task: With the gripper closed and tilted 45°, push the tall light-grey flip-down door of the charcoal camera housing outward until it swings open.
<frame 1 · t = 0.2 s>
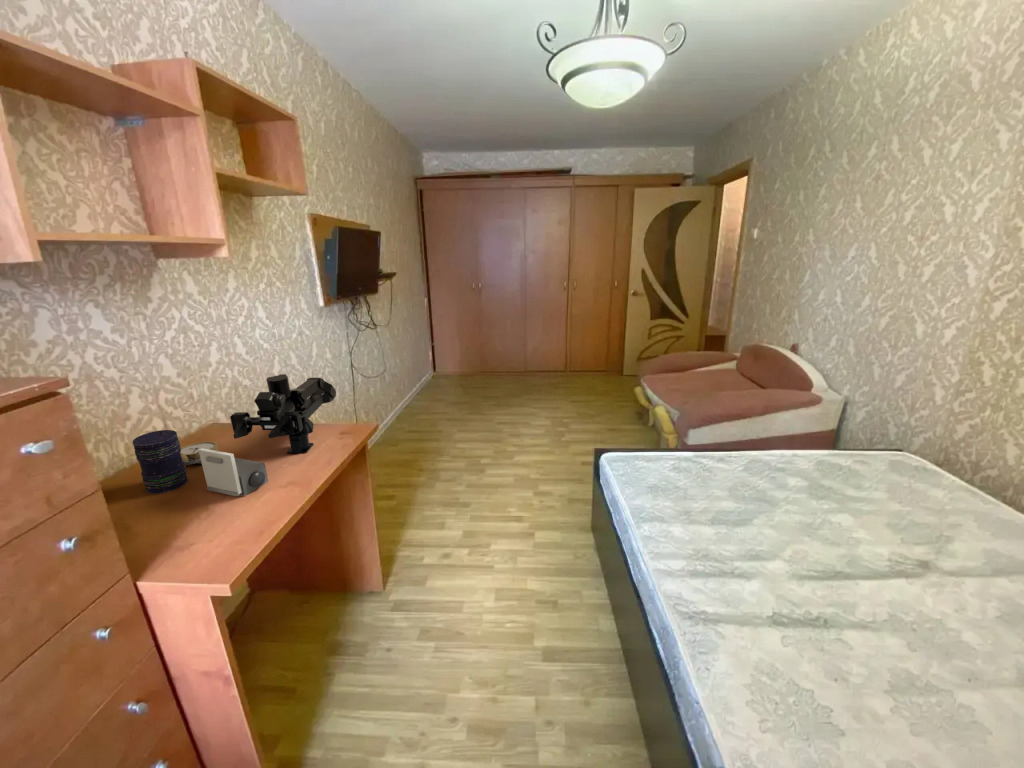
hand: (252, 436, 117), 17 cm above the table, tool horizontal, fingers open, 9 cm apart
alarm clock: (197, 460, 139), on the table
camera housing: (240, 485, 125), on the table
storage jar: (167, 485, 125), on the table
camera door: (219, 473, 118), point 7 cm above the table, hinge at 0.0°
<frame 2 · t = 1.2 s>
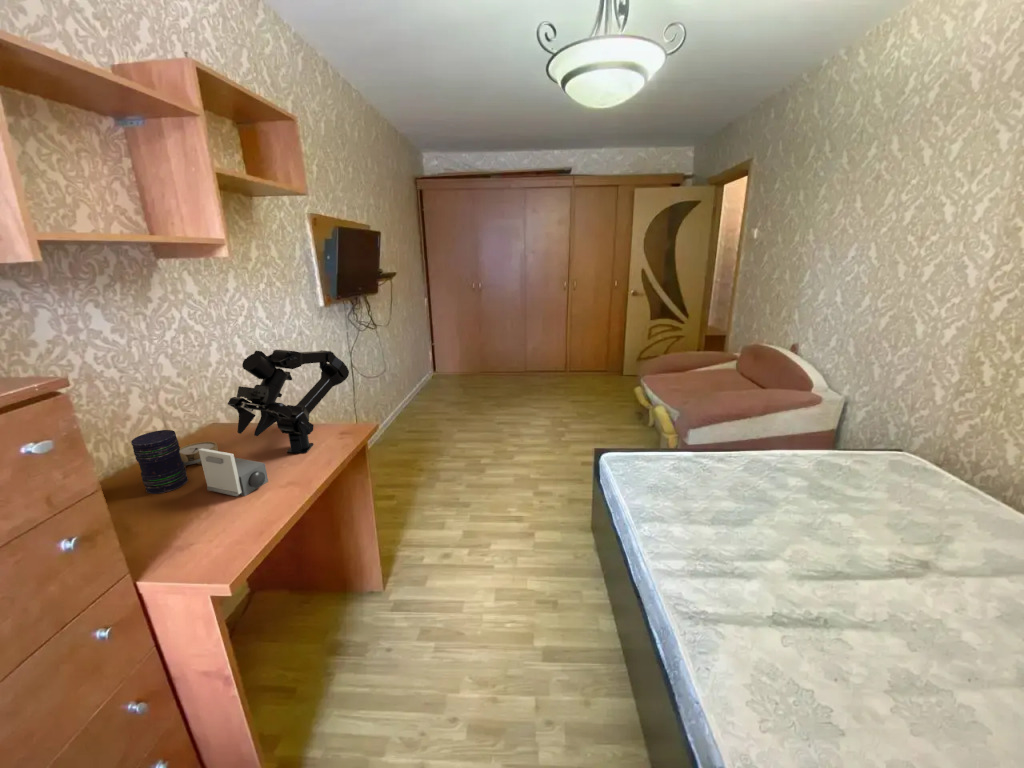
hand: (247, 434, 125), 14 cm above the table, tool tilted 45°, fingers open, 6 cm apart
nothing on the table moved.
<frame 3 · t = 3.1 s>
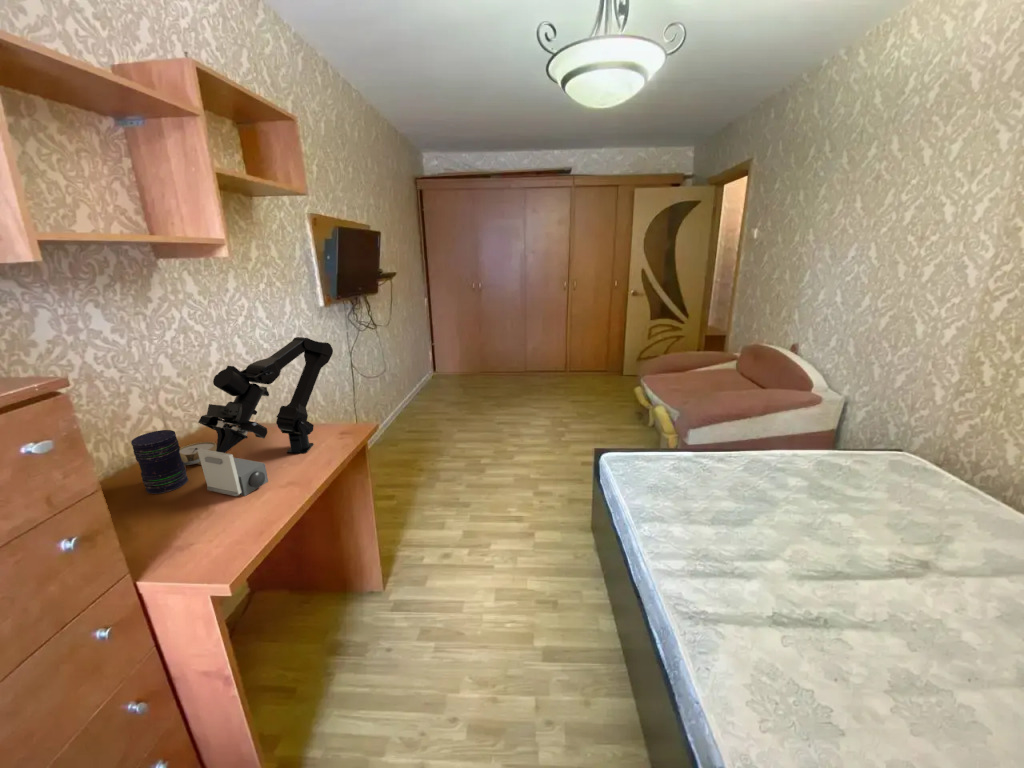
hand: (218, 455, 117), 12 cm above the table, tool tilted 45°, fingers closed, pressing on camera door
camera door: (218, 473, 118), point 7 cm above the table, hinge at 1.4°, touching gripper
everything else where it was.
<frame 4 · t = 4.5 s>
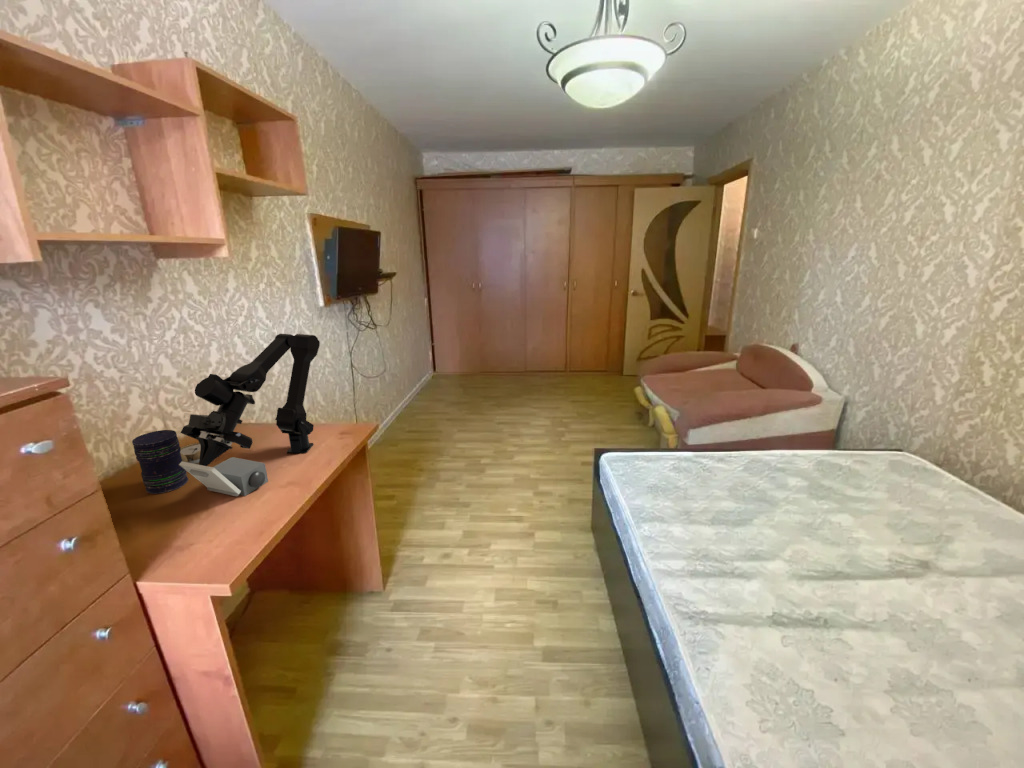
hand: (201, 467, 113), 11 cm above the table, tool tilted 45°, fingers closed, pressing on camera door
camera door: (210, 480, 116), point 6 cm above the table, hinge at 29.0°, touching gripper
everything else where it was.
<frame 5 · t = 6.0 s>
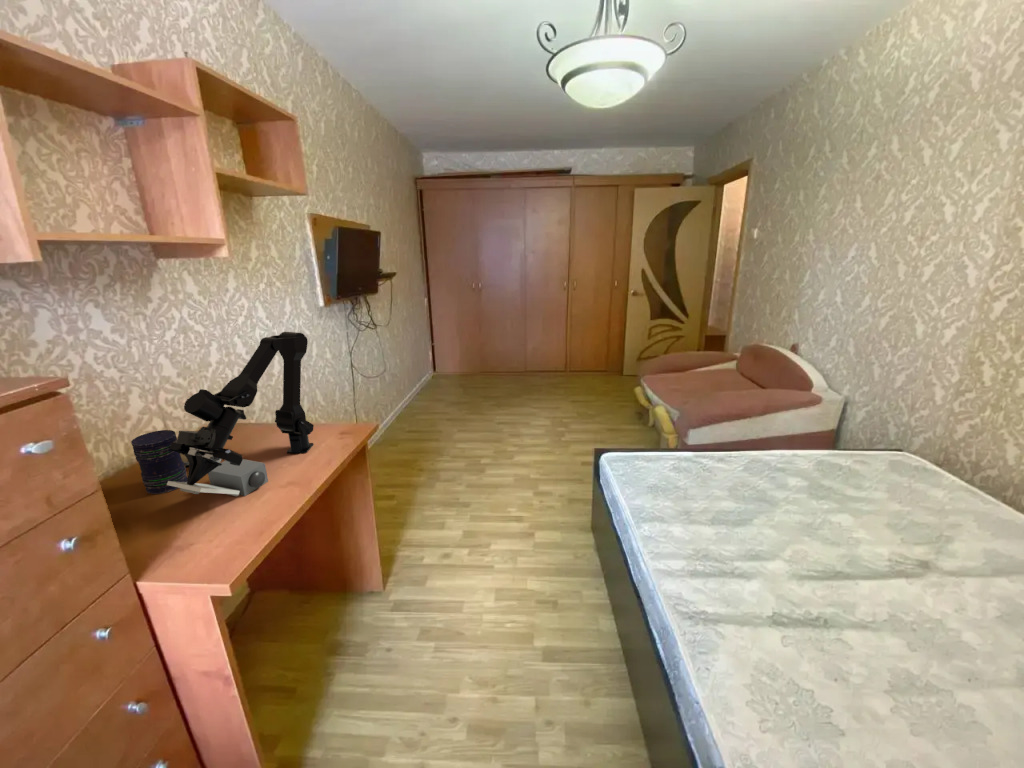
hand: (189, 484, 110), 8 cm above the table, tool tilted 45°, fingers closed, pressing on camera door
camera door: (205, 489, 114), point 4 cm above the table, hinge at 55.7°, touching gripper
everything else where it was.
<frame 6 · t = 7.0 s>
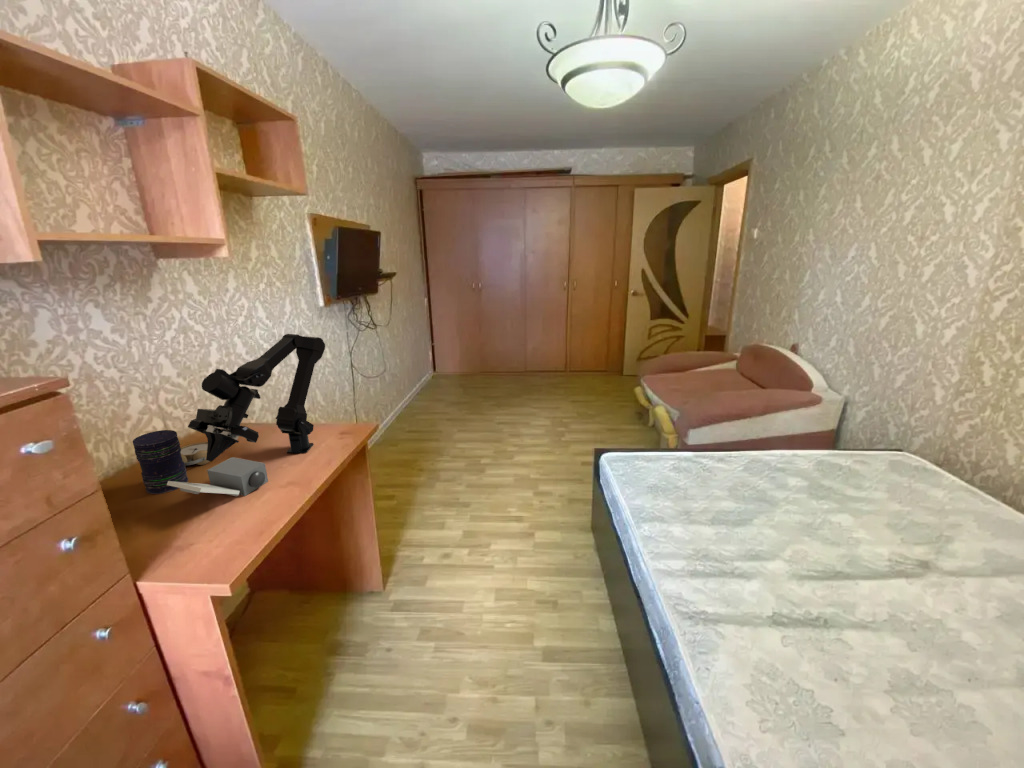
hand: (208, 460, 115), 12 cm above the table, tool tilted 45°, fingers closed
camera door: (205, 489, 114), point 4 cm above the table, hinge at 55.7°
everything else where it was.
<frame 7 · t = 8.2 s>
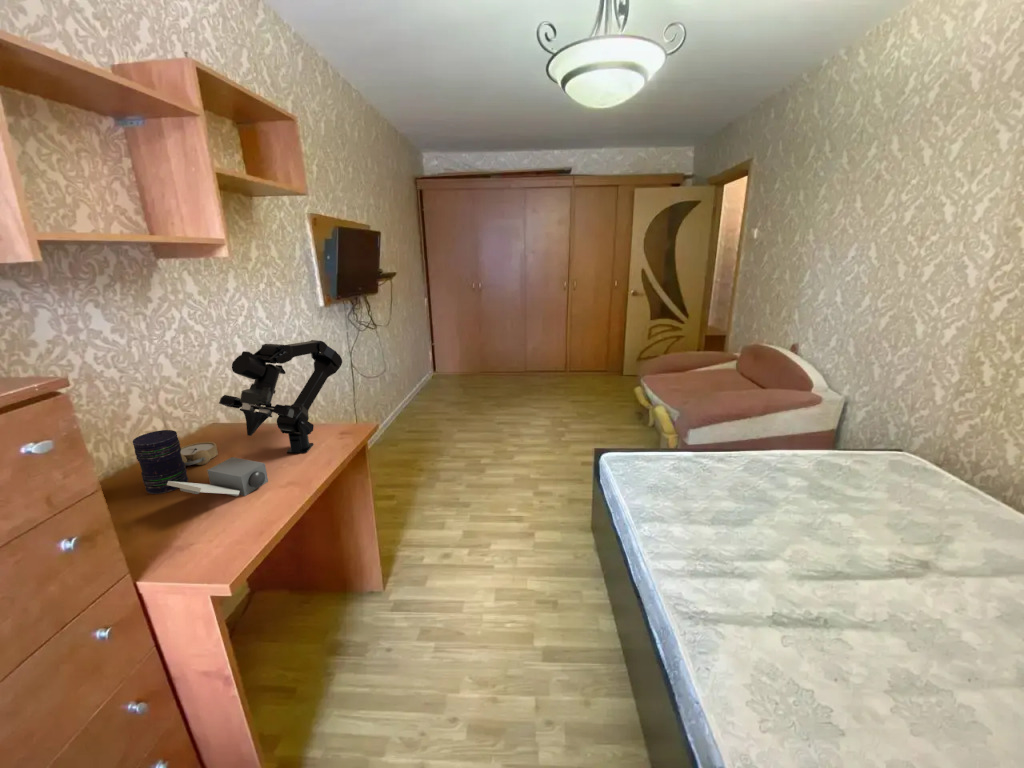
hand: (249, 435, 126), 13 cm above the table, tool tilted 35°, fingers closed
nothing on the table moved.
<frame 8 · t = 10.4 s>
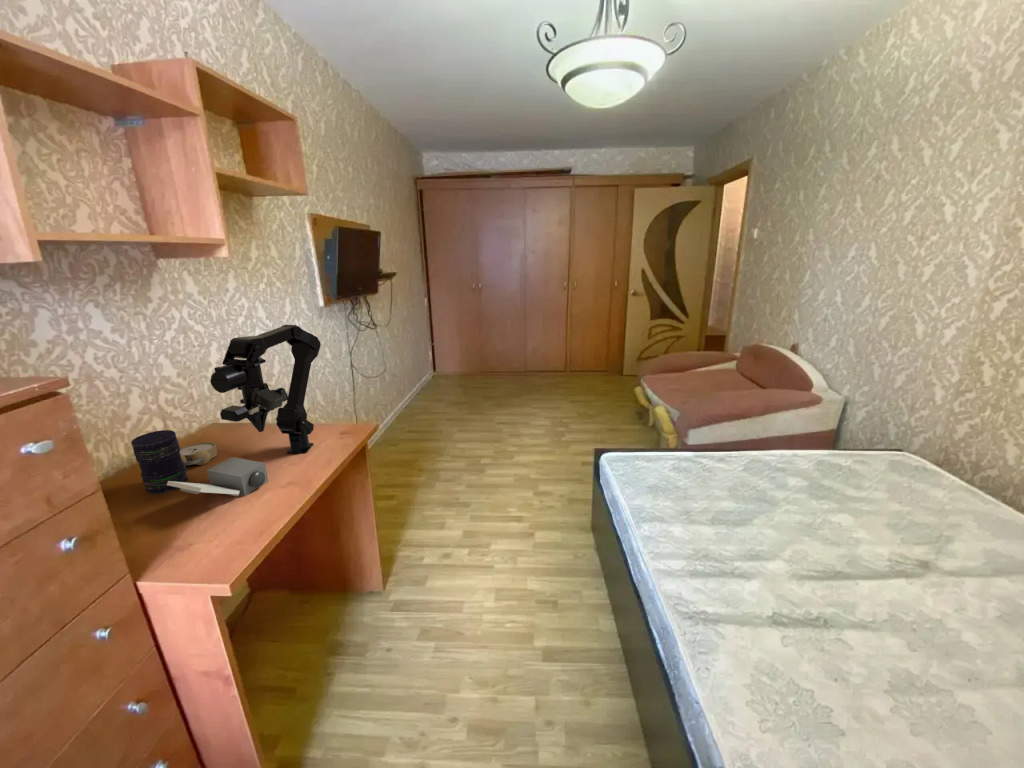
hand: (261, 431, 129), 13 cm above the table, tool pointing down, fingers closed
nothing on the table moved.
at the end: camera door at +56° (first picture: +0°); storage jar moved 1.1 cm from its start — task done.
